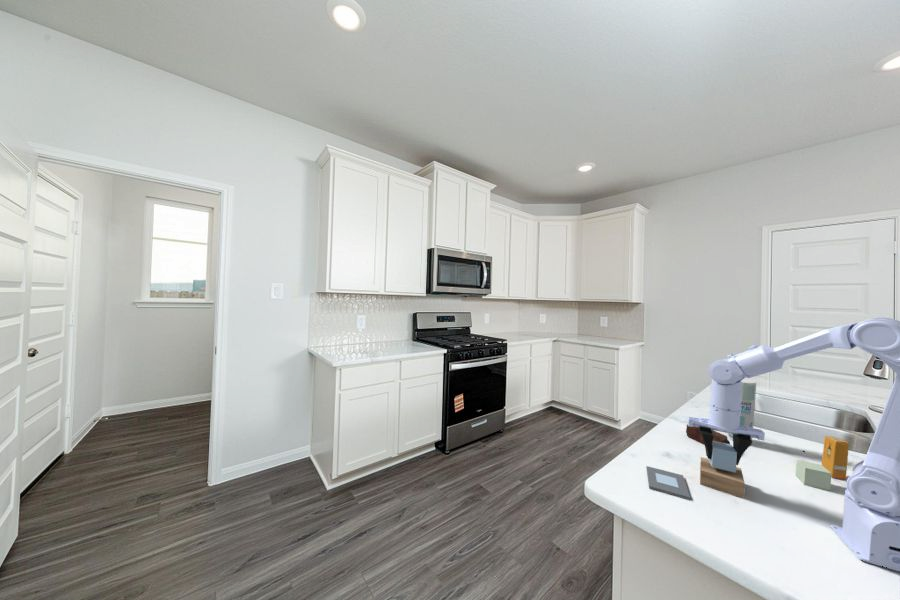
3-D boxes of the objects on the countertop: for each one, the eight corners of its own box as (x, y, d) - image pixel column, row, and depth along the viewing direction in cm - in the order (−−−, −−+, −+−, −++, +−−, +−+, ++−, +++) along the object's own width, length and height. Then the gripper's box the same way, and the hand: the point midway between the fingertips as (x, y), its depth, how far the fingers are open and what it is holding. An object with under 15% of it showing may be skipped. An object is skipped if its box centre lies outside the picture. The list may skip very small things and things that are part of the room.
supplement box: (848, 480, 81) (851, 442, 81) (832, 478, 82) (834, 441, 82) (835, 472, 84) (837, 436, 84) (819, 471, 85) (822, 435, 85)
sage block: (830, 491, 77) (831, 473, 76) (804, 485, 79) (805, 467, 79) (820, 481, 80) (821, 464, 80) (795, 476, 83) (796, 459, 82)
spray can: (751, 439, 103) (755, 380, 102) (753, 447, 98) (757, 384, 97) (725, 433, 107) (728, 376, 106) (726, 440, 102) (729, 380, 101)
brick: (685, 436, 104) (686, 423, 104) (693, 435, 105) (694, 421, 105) (721, 453, 94) (722, 438, 94) (730, 451, 95) (731, 436, 95)
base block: (743, 499, 73) (744, 483, 73) (700, 485, 78) (700, 470, 78) (740, 483, 79) (741, 468, 79) (700, 471, 84) (700, 457, 84)
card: (690, 499, 72) (690, 497, 72) (649, 488, 76) (649, 485, 76) (682, 477, 81) (682, 474, 81) (646, 468, 84) (646, 465, 84)
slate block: (735, 472, 75) (737, 452, 75) (712, 467, 77) (713, 447, 77) (730, 463, 79) (731, 444, 79) (707, 458, 81) (708, 440, 81)
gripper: (757, 407, 78) (754, 460, 78) (686, 396, 85) (683, 445, 85) (769, 417, 71) (765, 475, 72) (691, 404, 79) (688, 457, 79)
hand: (721, 459), depth 78 cm, fingers closed on slate block, 4 cm apart
